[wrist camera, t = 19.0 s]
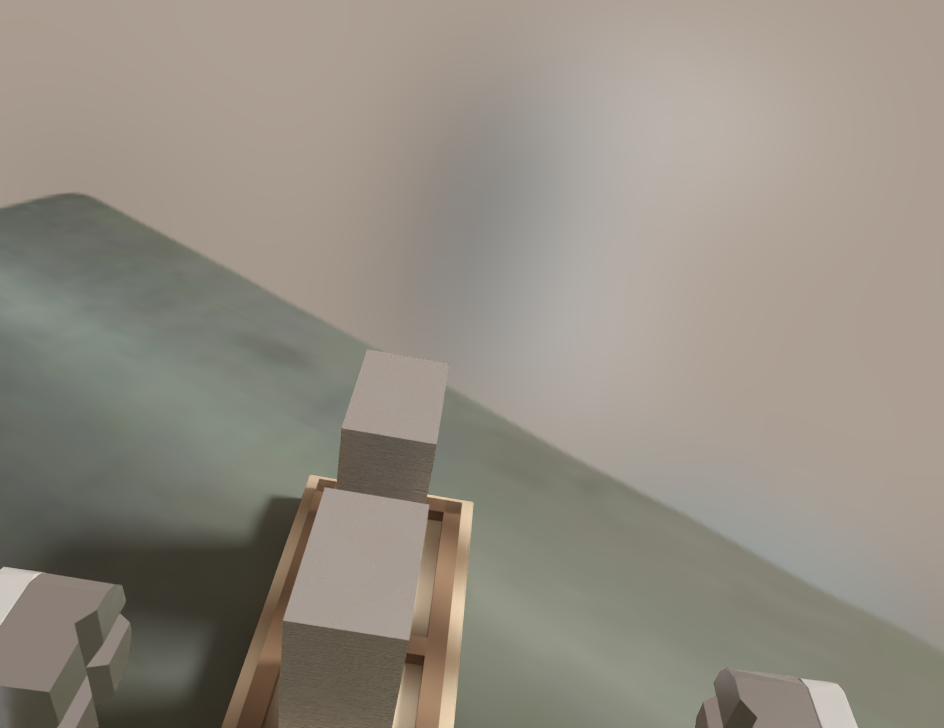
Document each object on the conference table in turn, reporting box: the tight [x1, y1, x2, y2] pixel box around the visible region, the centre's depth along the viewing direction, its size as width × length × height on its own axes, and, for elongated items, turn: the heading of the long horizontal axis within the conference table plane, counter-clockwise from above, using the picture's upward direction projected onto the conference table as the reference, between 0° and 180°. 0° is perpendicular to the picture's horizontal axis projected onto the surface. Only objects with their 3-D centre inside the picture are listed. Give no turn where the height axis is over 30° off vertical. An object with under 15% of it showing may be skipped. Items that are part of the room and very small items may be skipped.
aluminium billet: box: [278, 487, 429, 728], centre depth 30 cm, size 6×4×12 cm, turn 176°
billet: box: [336, 350, 449, 504], centre depth 38 cm, size 6×4×12 cm, turn 176°
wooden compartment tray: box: [221, 475, 473, 728], centre depth 38 cm, size 22×10×3 cm, turn 176°
